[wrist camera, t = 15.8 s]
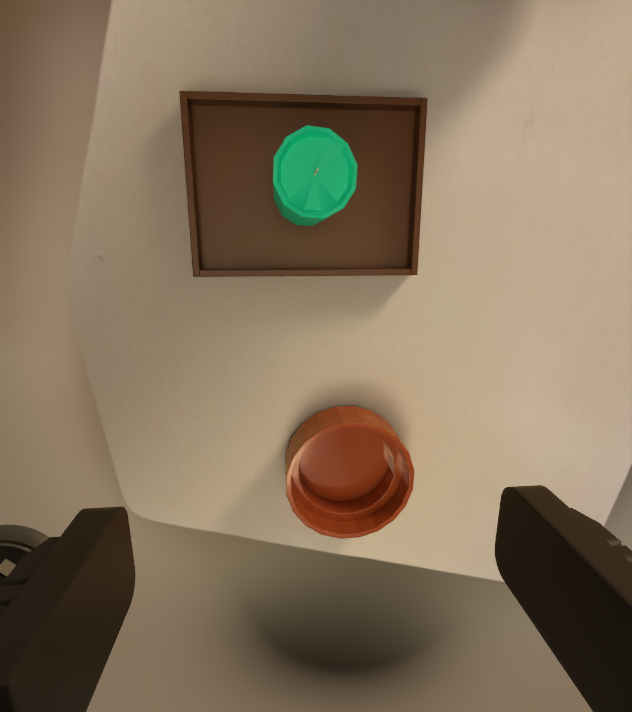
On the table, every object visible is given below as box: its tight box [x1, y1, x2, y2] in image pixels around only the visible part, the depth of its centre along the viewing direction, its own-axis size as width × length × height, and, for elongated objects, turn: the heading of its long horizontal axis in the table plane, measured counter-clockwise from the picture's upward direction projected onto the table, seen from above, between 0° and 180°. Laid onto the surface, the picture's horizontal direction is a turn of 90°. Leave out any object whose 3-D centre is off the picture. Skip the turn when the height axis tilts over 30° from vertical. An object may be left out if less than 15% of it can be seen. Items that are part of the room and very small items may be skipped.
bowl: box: [285, 406, 414, 538], centre depth 44 cm, size 13×13×5 cm
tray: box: [180, 91, 427, 277], centre depth 38 cm, size 21×15×2 cm
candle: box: [273, 125, 358, 226], centre depth 33 cm, size 6×6×12 cm
